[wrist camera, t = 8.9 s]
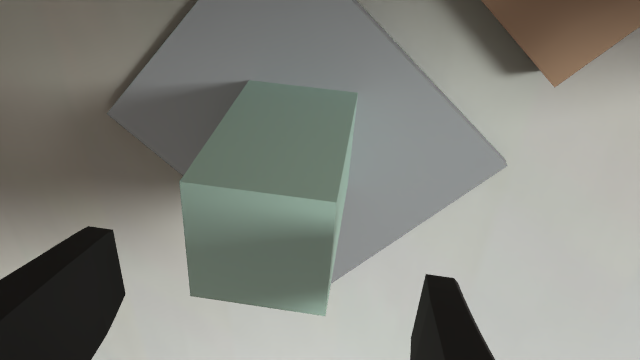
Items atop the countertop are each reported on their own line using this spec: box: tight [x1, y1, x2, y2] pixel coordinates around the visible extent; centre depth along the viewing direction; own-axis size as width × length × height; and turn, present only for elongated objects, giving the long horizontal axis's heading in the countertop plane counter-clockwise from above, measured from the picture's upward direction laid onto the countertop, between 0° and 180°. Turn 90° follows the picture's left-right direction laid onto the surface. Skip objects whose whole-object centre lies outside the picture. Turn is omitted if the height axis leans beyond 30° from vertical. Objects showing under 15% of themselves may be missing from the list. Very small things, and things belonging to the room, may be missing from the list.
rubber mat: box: [107, 0, 507, 283], centre depth 20 cm, size 12×10×1 cm
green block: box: [179, 80, 358, 316], centre depth 17 cm, size 4×4×7 cm
